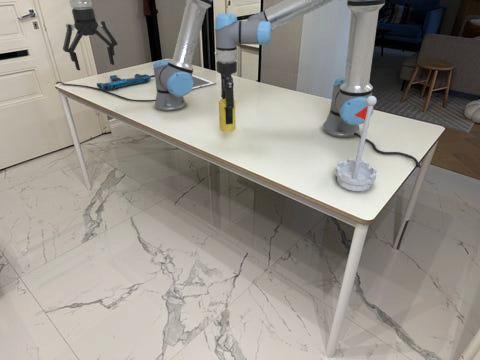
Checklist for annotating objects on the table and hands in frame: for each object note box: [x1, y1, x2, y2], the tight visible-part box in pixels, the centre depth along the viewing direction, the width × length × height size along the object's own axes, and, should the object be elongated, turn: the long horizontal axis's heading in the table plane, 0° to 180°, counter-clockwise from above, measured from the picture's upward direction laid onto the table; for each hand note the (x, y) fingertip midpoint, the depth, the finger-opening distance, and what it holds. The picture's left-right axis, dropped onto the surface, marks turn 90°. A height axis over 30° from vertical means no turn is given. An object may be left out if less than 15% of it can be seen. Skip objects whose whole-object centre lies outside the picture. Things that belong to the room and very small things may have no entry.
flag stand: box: [334, 95, 378, 192], centre depth 107 cm, size 13×13×30 cm
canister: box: [218, 98, 236, 133], centre depth 135 cm, size 6×6×12 cm
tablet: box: [191, 73, 216, 91], centre depth 211 cm, size 32×20×1 cm, turn 41°
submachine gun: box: [96, 73, 155, 91], centre depth 208 cm, size 34×4×25 cm
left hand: (95, 66), depth 137 cm, fingers open, 13 cm apart
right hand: (227, 119), depth 136 cm, fingers closed on canister, 6 cm apart
